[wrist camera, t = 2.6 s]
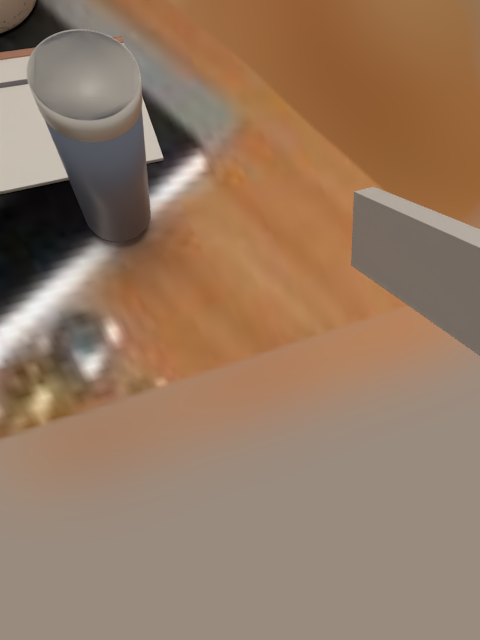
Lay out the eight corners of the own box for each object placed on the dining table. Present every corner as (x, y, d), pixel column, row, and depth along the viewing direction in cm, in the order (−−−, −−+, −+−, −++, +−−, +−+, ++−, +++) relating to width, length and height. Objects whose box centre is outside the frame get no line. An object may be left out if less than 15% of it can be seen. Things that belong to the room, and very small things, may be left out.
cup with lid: (96, 256, 27) (42, 130, 15) (79, 198, 27) (14, 37, 16) (159, 240, 27) (154, 111, 16) (141, 185, 28) (123, 23, 17)
